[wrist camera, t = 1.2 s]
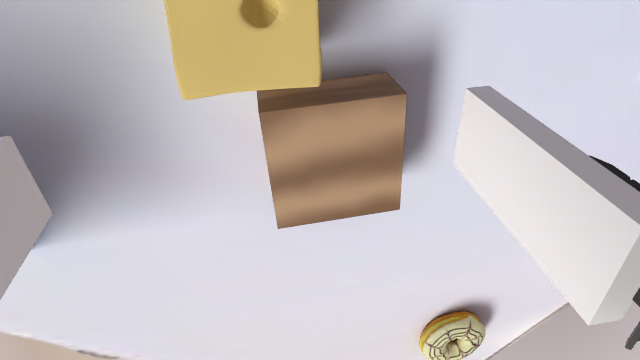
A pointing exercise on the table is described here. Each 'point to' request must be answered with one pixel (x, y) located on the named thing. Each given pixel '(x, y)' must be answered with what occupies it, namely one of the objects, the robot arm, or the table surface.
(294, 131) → the walnut block
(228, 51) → the cheese
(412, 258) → the table surface
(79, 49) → the table surface
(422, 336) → the decorated donut
